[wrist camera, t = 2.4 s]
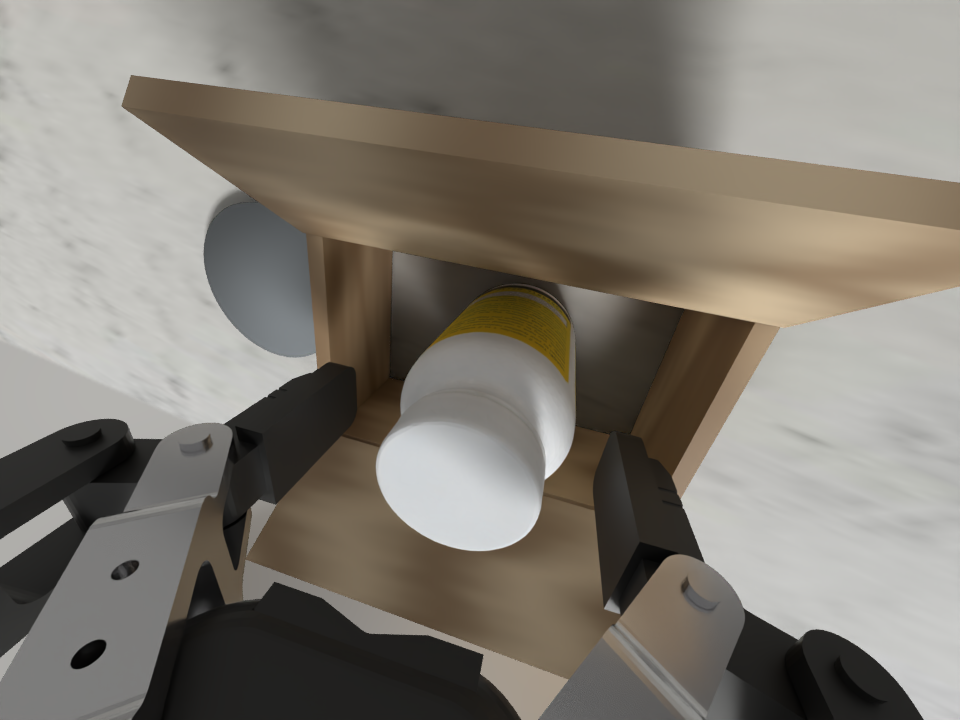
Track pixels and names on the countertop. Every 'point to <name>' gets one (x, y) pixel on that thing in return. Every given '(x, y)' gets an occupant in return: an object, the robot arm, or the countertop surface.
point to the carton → (549, 257)
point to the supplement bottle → (484, 421)
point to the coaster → (262, 278)
